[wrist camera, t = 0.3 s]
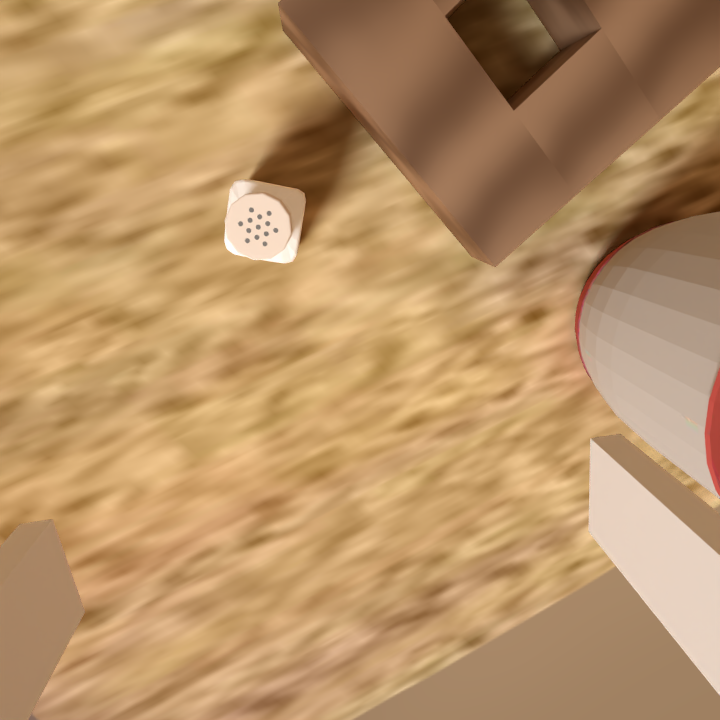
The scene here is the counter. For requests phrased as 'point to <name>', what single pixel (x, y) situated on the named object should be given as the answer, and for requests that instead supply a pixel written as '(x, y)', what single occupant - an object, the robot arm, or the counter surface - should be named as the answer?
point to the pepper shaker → (264, 221)
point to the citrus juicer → (660, 340)
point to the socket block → (490, 109)
